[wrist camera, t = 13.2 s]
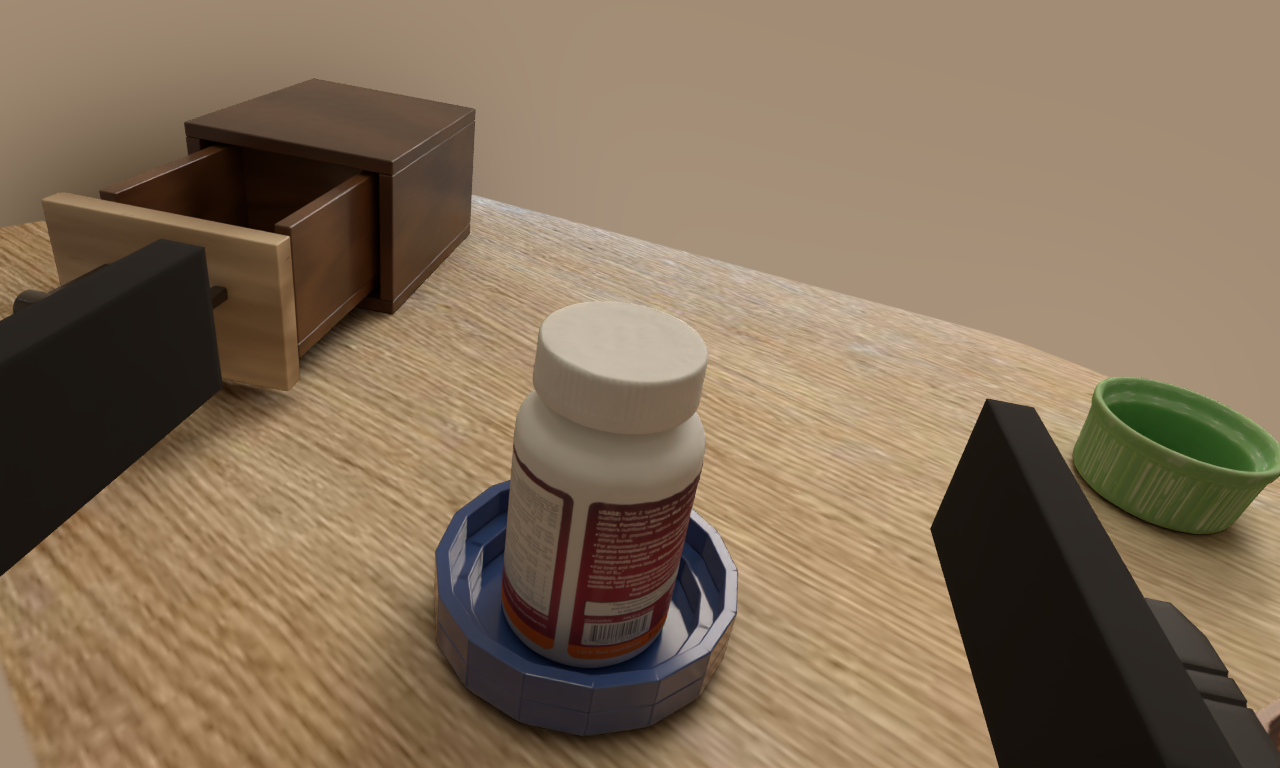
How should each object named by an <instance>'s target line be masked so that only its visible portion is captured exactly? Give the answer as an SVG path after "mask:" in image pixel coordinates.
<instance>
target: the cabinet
mask: <svg viewBox="0 0 1280 768" xmlns="http://www.w3.org/2000/svg"><path fill="white" fill-rule="evenodd" d="M474 120H475V109H473V108H468V107H463V106H458V105H452V104H447V103H442V102H436V101H431V100H425V99H420V98H414V97H409V96H404V95H399V94H394V93H388V92H383V91H377V90H372V89H367V88H361V87H356V86H351V85H346V84H340V83H335V82H330V81H324V80H319V79H311V80H308V81H305V82H302V83H299V84H296V85H293V86H290V87H287V88H284V89H281V90H278V91H275V92H272V93H269V94H267V95H263V96H260V97H257V98H254V99H252V100H248V101H245V102H242V103H239V104H236V105H233V106H231V107H228V108H225V109H221V110H218V111H216V112H212V113H210V114H207V115H204V116H201V117H198V118H195V119H192V120H189V121H186V122H185V123H184V125H185V133H186V136H187V137H186V142H187V150H188V155H190V154H193V153H195V152H198V151H200V150H203V149H205V148H208V147H210V146H213V145H215V144H218V143H225V144H230V145H235V146H240V147H246V148H251V149H256V150H261V151H267V152H272V153H277V154H282V155H288V156H293V157H298V158H303V159H308V160H314V161H319V162H324V163H329V164H335V165H340V166H345V167H350V168H355V169H361V170H366V171H371V172H376V173H380V174H379V220H380V284H379V285H377V286H376V287H375V288H374V289H373V290H372V291H371V292H370V293H369V294H368V295H367V296H366V297H365V298H364V299H363V300H361V301H360V302H359V303H358V304H357V305H356V306H355V307H361V308H366V309H371V310H376V311H381V312H386V313H391V314H393V313H394V312H395V311H396V310H397V309H398V308H399V307H400V306H401V305H402V304H403V303H404V302H405V301H406V300H407V299H408V298H409V297H410V295H411V294H412V293H413V292H414V291H415V290H416V289H417V288H418V287H419V286H420V285H421V284H422V283H423V282H424V281H425V280H426V279H427V278H428V277H429V275H430V274H431V273H432V272H433V271H434V270H435V269H436V268H437V267H438V266H439V265H440V264H441V263H442V262H443V261H444V260H445V259H446V258H447V257H448V255H449V254H450V253H451V252H452V251H453V250H454V249H455V248H456V247H457V246H458V245H459V244H460V243H461V242H462V241H463V240H464V239H465V238H466V237H467V236H468V234H469V233H470V216H471V195H472V173H473V153H474V152H473V151H474V131H475V121H474Z"/></svg>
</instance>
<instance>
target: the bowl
mask: <svg viewBox="0 0 1280 768" xmlns="http://www.w3.org/2000/svg"><path fill="white" fill-rule="evenodd" d="M510 481H511V480H508V481H505V482H502V483H499V484H496V485H493V486H491V487H489V488H488V489H487V490H485V491H484V492H483V493H481V494H480V495H479V496H477V497H476V498H475V499H473V500H472V501H471V502H469V503H468V504H467V505H465V506H464V507H463V508H461V509H460V510H459V511H457V512H456V513H455V514H454V516H453V518H452V520H451V522H450V524H449V526H448V528H447V530H446V532H445V534H444V536H443V537H442V539H441V541H440V543H439V545H438V547H437V549H436V552H435V574H434V575H435V578H434V609H435V624H436V639H437V642H438V646H439V647H440V649H441V650H442V652H443V653H444V655H445V657H446V658H447V660H448V661H449V663H450V664H451V666H452V667H453V669H454V671H455V672H456V674H457V675H458V677H459V678H460V680H461V681H462V683H463V685H464V686H465V687H466V688H467V689H468V690H469V691H471V692H473V693H474V694H476V695H477V696H479V697H480V698H482V699H483V700H485V701H486V702H488V703H490V704H491V705H493V706H494V707H496V708H497V709H499V710H500V711H502V712H503V713H505V714H507V715H508V716H510V717H511V718H513V719H514V720H516V721H519V722H520V723H523V724H528V725H532V726H537V727H542V728H546V729H551V730H556V731H560V732H565V733H570V734H574V735H579V736H584V735H585V736H590V735H597V734H604V733H611V732H619V731H626V730H633V729H640V728H646V727H648V726H651V725H653V724H655V723H656V722H658V721H660V720H662V719H663V718H665V717H667V716H668V715H670V714H672V713H673V712H675V711H677V710H679V709H680V708H682V707H684V706H685V705H687V704H689V703H690V702H692V701H694V700H695V699H696V698H697V697H699V696H700V694H701V693H702V691H703V689H704V688H705V686H706V685H707V683H708V682H709V680H710V678H711V677H712V675H713V674H714V672H715V671H716V669H717V667H718V666H719V664H720V663H721V661H722V660H723V657H724V654H725V651H726V647H727V644H728V640H729V637H730V634H731V631H732V628H733V624H734V621H735V618H736V614H737V593H738V570H737V568H736V566H735V564H734V562H733V560H732V558H731V556H730V554H729V552H728V550H727V548H726V546H725V544H724V542H723V540H722V538H721V536H720V534H719V533H718V531H717V530H716V529H715V528H713V527H712V526H711V525H710V524H709V523H708V522H707V521H706V520H705V519H703V518H702V517H701V516H700V515H699V514H698V513H697V512H696V511H695V510H693V509H692V510H691V515H690V519H689V523H688V528H687V532H686V536H685V541H684V545H683V551H682V554H681V559H680V563H679V569H678V574H677V577H676V581H675V586H674V590H673V594H672V599H671V602H670V606H669V611H668V615H667V618H666V621H665V624H664V626H663V629H662V631H661V632H660V634H659V635H658V637H657V638H656V639H655V641H654V642H653V643H652V644H651V645H650V646H649V647H647V648H646V649H645V650H644V651H643V652H641V653H640V654H638V655H637V656H635V657H633V658H631V659H629V660H626V661H624V662H621V663H618V664H614V665H610V666H605V667H599V668H580V667H573V666H569V665H565V664H561V663H558V662H555V661H552V660H550V659H548V658H546V657H544V656H542V655H540V654H538V653H536V652H535V651H533V650H532V649H530V648H529V647H528V646H526V645H525V644H524V643H523V642H522V641H521V640H520V639H519V638H518V636H517V635H516V634H515V633H514V632H513V630H512V629H511V627H510V625H509V624H508V622H507V620H506V617H505V614H504V611H503V606H502V599H501V590H502V573H503V562H504V552H505V541H506V529H507V517H508V505H509V493H510Z"/></svg>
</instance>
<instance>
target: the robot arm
mask: <svg viewBox="0 0 1280 768" xmlns="http://www.w3.org/2000/svg"><path fill="white" fill-rule="evenodd" d="M221 388H223V384H222V376H221V368H220V361H219V353H218V345H217V338H216V330H215V322H214V315H213V307H212V299H211V292H210V284H209V276H208V269H207V261H206V253H205V247H202V246H197V245H192V244H187V243H182V242H176V241H171V240H166V239H159V240H157V241H155V242H153V243H151V244H149V245H147V246H145V247H143V248H141V249H139V250H137V251H135V252H133V253H131V254H129V255H128V256H126V257H124V258H122V259H120V260H118V261H116V262H114V263H112V264H110V265H108V266H106V267H104V268H102V269H100V270H98V271H96V272H94V273H92V274H91V275H89V276H87V277H85V278H83V279H81V280H79V281H77V282H75V283H73V284H71V285H69V286H67V287H65V288H63V289H61V290H59V291H57V292H55V293H53V294H52V295H50V296H48V297H46V298H44V299H42V300H40V301H38V302H36V303H34V304H32V305H30V306H28V307H26V308H24V309H22V310H20V311H18V312H16V313H15V314H13V315H11V316H9V317H7V318H5V319H3V320H1V321H0V577H1V576H2V575H3V574H4V573H5V572H6V571H8V570H9V569H10V568H11V567H12V566H13V565H15V564H16V563H17V562H18V561H19V560H20V559H22V558H23V557H24V556H25V555H26V554H28V553H29V552H30V551H31V550H32V549H33V548H35V547H36V546H37V545H38V544H39V543H40V542H42V541H43V540H44V539H45V538H46V537H48V536H49V535H50V534H51V533H52V532H53V531H55V530H56V529H57V528H58V527H59V526H60V525H62V524H63V523H64V522H65V521H66V520H67V519H69V518H70V517H71V516H72V515H73V514H75V513H76V512H77V511H78V510H79V509H80V508H82V507H83V506H84V505H85V504H86V503H87V502H89V501H90V500H91V499H92V498H93V497H95V496H96V495H97V494H98V493H99V492H100V491H102V490H103V489H104V488H105V487H106V486H107V485H109V484H110V483H111V482H112V481H113V480H114V479H116V478H117V477H118V476H119V475H120V474H122V473H123V472H124V471H125V470H126V469H127V468H129V467H130V466H131V465H132V464H133V463H134V462H136V461H137V460H138V459H139V458H140V457H142V456H143V455H144V454H145V453H146V452H147V451H149V450H150V449H151V448H152V447H153V446H154V445H156V444H157V443H158V442H159V441H160V440H161V439H163V438H164V437H165V436H166V435H167V434H169V433H170V432H171V431H172V430H173V429H174V428H176V427H177V426H178V425H179V424H180V423H181V422H183V421H184V420H185V419H186V418H187V417H189V416H190V415H191V414H192V413H193V412H194V411H196V410H197V409H198V408H199V407H200V406H201V405H203V404H204V403H205V402H206V401H207V400H208V399H210V398H211V397H212V396H213V395H214V394H216V393H217V392H218V391H219V390H220V389H221ZM930 529H931V533H932V536H933V540H934V543H935V547H936V550H937V554H938V557H939V561H940V564H941V568H942V571H943V575H944V578H945V581H946V585H947V588H948V592H949V595H950V599H951V602H952V606H953V609H954V613H955V616H956V620H957V623H958V627H959V630H960V634H961V637H962V640H963V644H964V647H965V651H966V654H967V658H968V661H969V665H970V668H971V672H972V675H973V679H974V682H975V686H976V689H977V693H978V696H979V699H980V703H981V706H982V710H983V713H984V717H985V720H986V724H987V727H988V731H989V734H990V738H991V741H992V745H993V748H994V752H995V755H996V758H997V762H998V765H999V768H1280V752H1279V750H1278V749H1277V747H1276V746H1275V744H1274V743H1273V741H1272V739H1271V738H1270V736H1269V735H1268V733H1267V732H1266V730H1265V728H1264V727H1263V725H1262V724H1261V722H1260V721H1259V719H1258V717H1257V716H1256V714H1255V713H1254V711H1253V710H1252V709H1249V708H1247V706H1246V703H1247V700H1246V699H1245V697H1244V695H1243V694H1242V692H1241V691H1240V689H1239V688H1238V686H1237V684H1236V683H1235V681H1234V680H1233V679H1231V678H1228V670H1227V669H1226V667H1225V665H1224V664H1223V662H1222V661H1221V659H1220V658H1219V656H1218V654H1217V653H1216V651H1215V650H1214V648H1213V647H1212V645H1211V643H1210V642H1209V640H1208V639H1207V637H1206V636H1205V635H1204V634H1203V633H1202V632H1201V631H1200V630H1199V629H1198V628H1197V627H1196V626H1195V625H1193V624H1192V623H1191V622H1190V621H1189V620H1188V619H1187V618H1186V617H1185V616H1184V615H1183V614H1182V613H1181V612H1180V611H1179V610H1178V609H1177V608H1176V607H1175V606H1173V605H1172V604H1171V603H1169V602H1164V601H1159V600H1154V599H1149V598H1144V597H1143V595H1142V593H1141V591H1140V590H1139V588H1138V586H1137V585H1136V583H1135V581H1134V579H1133V578H1132V576H1131V574H1130V572H1129V571H1128V569H1127V567H1126V566H1125V564H1124V562H1123V560H1122V559H1121V557H1120V555H1119V553H1118V552H1117V550H1116V548H1115V547H1114V545H1113V543H1112V541H1111V540H1110V538H1109V536H1108V534H1107V533H1106V531H1105V529H1104V528H1103V526H1102V524H1101V522H1100V521H1099V519H1098V517H1097V515H1096V514H1095V512H1094V510H1093V509H1092V507H1091V505H1090V503H1089V502H1088V500H1087V498H1086V496H1085V495H1084V493H1083V491H1082V490H1081V488H1080V486H1079V484H1078V483H1077V481H1076V479H1075V478H1074V476H1073V474H1072V472H1071V471H1070V469H1069V467H1068V465H1067V464H1066V462H1065V460H1064V459H1063V457H1062V455H1061V453H1060V452H1059V450H1058V448H1057V446H1056V445H1055V443H1054V441H1053V440H1052V438H1051V436H1050V434H1049V433H1048V431H1047V429H1046V427H1045V426H1044V424H1043V422H1042V421H1041V419H1040V417H1039V415H1038V414H1037V412H1036V410H1035V408H1033V407H1028V406H1023V405H1018V404H1013V403H1008V402H1002V401H997V400H992V399H986V401H985V403H984V406H983V408H982V410H981V413H980V415H979V417H978V420H977V422H976V424H975V426H974V429H973V431H972V433H971V436H970V438H969V440H968V443H967V445H966V447H965V450H964V452H963V454H962V457H961V459H960V461H959V463H958V466H957V468H956V470H955V473H954V475H953V477H952V480H951V482H950V484H949V487H948V489H947V491H946V494H945V496H944V498H943V500H942V503H941V505H940V507H939V510H938V512H937V514H936V517H935V519H934V521H933V524H932V526H931V528H930Z"/></svg>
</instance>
